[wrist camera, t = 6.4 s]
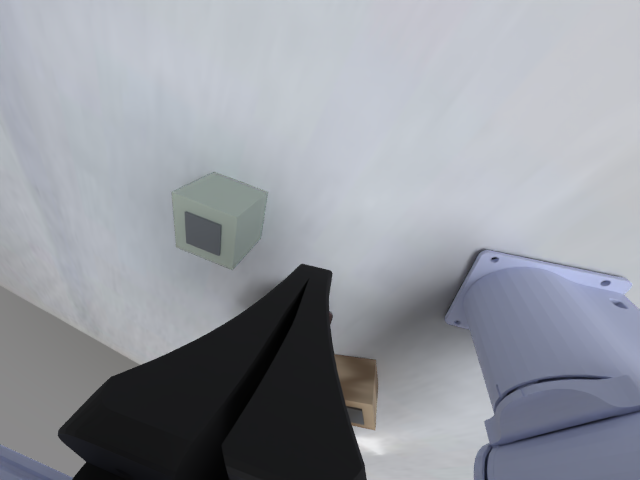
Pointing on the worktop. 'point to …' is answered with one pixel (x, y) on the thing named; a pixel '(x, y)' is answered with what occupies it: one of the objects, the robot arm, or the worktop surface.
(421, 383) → the worktop surface
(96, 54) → the worktop surface
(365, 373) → the oak marked block
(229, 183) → the sage marked block
